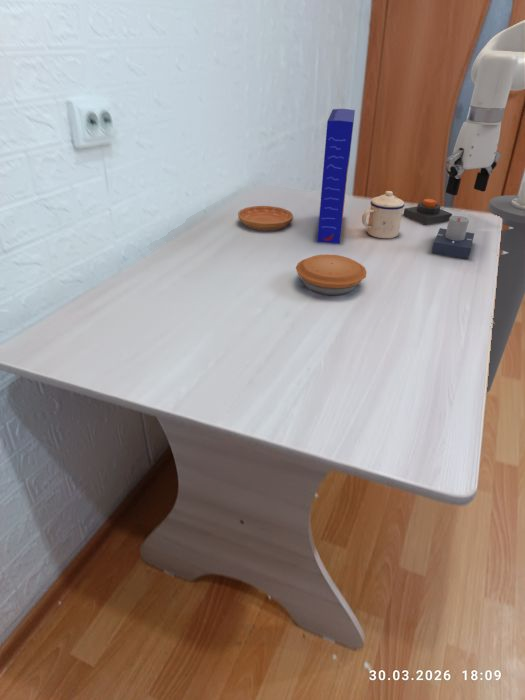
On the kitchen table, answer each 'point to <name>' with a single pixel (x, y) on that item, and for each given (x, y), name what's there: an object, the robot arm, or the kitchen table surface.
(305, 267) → the pie
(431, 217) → the switch block
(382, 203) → the teacup with lid
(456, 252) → the dial panel
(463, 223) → the dial
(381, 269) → the kitchen table surface
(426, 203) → the button
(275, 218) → the saucer
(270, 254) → the kitchen table surface
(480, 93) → the robot arm
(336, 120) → the cereal box
